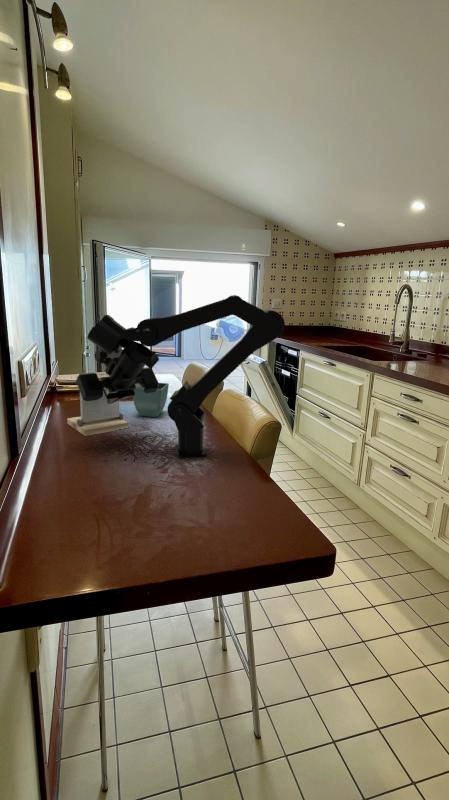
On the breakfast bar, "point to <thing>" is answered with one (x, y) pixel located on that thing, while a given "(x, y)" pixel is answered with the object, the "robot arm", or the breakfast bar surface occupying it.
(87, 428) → the pale wooden slab
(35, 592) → the breakfast bar surface
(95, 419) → the flat square panel
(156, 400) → the flower pot
